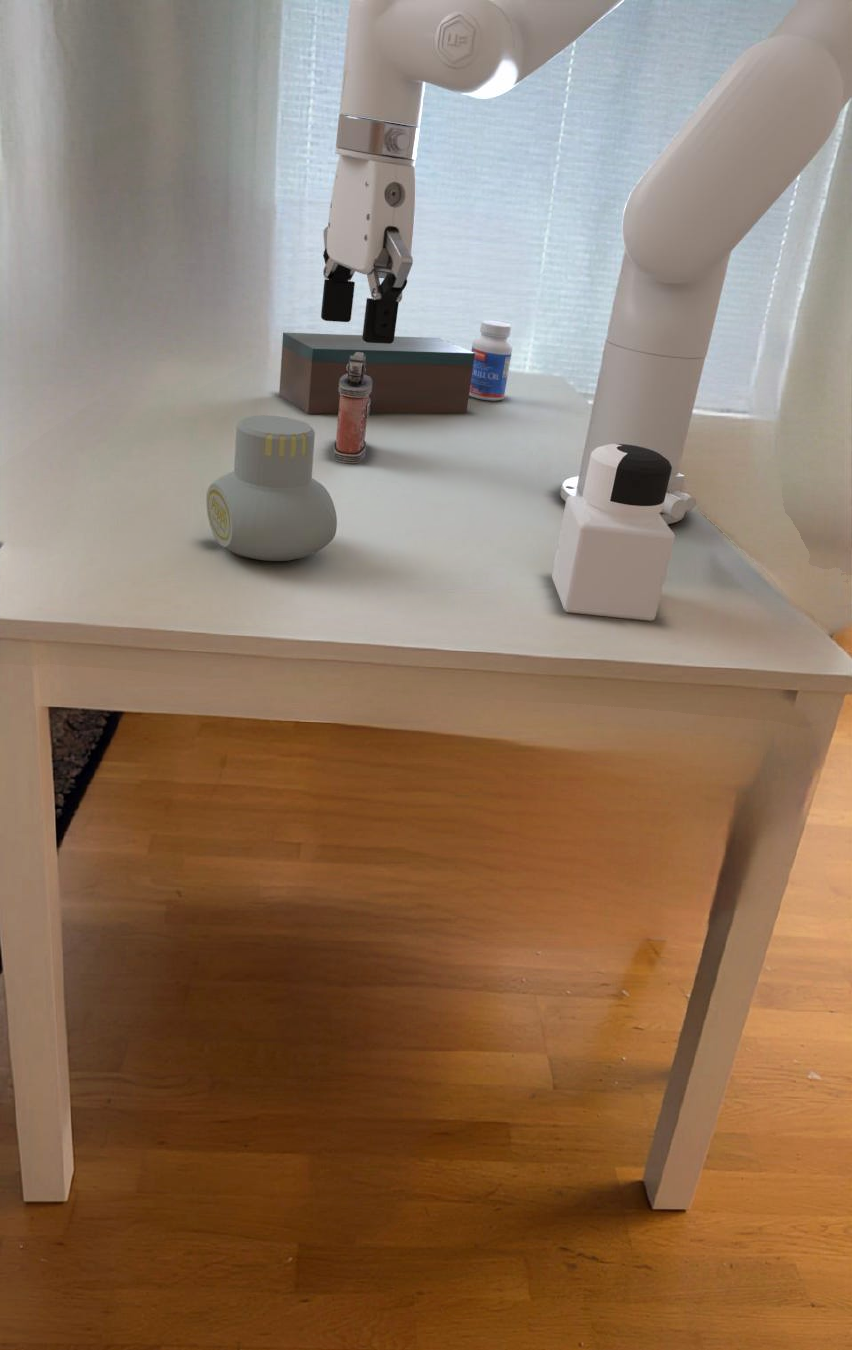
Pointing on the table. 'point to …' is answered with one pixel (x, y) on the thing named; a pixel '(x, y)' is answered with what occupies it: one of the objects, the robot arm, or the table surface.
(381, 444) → the table surface
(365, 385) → the red smoke grenade
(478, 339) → the pill bottle
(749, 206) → the robot arm
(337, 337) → the brown rectangular block
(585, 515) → the medicine bottle
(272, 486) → the air freshener
